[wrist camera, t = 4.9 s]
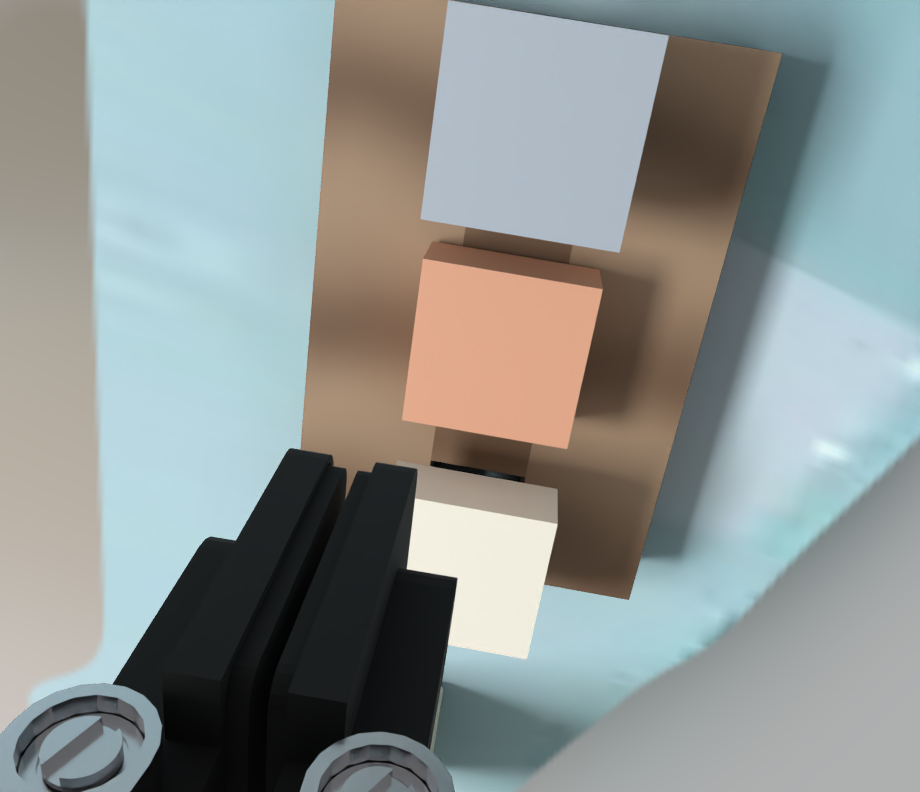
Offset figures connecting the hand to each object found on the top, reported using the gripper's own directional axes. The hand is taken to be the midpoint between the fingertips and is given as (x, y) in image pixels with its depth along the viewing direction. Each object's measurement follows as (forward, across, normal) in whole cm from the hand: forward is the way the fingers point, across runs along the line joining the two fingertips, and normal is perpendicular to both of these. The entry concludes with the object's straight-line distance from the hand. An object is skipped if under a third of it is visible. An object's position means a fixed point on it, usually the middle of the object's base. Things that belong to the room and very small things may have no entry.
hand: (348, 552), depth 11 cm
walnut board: (+18, -2, +3) cm, 19 cm away
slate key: (+17, -2, -3) cm, 17 cm away
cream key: (+16, -1, +10) cm, 19 cm away
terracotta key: (+18, -1, +3) cm, 18 cm away
